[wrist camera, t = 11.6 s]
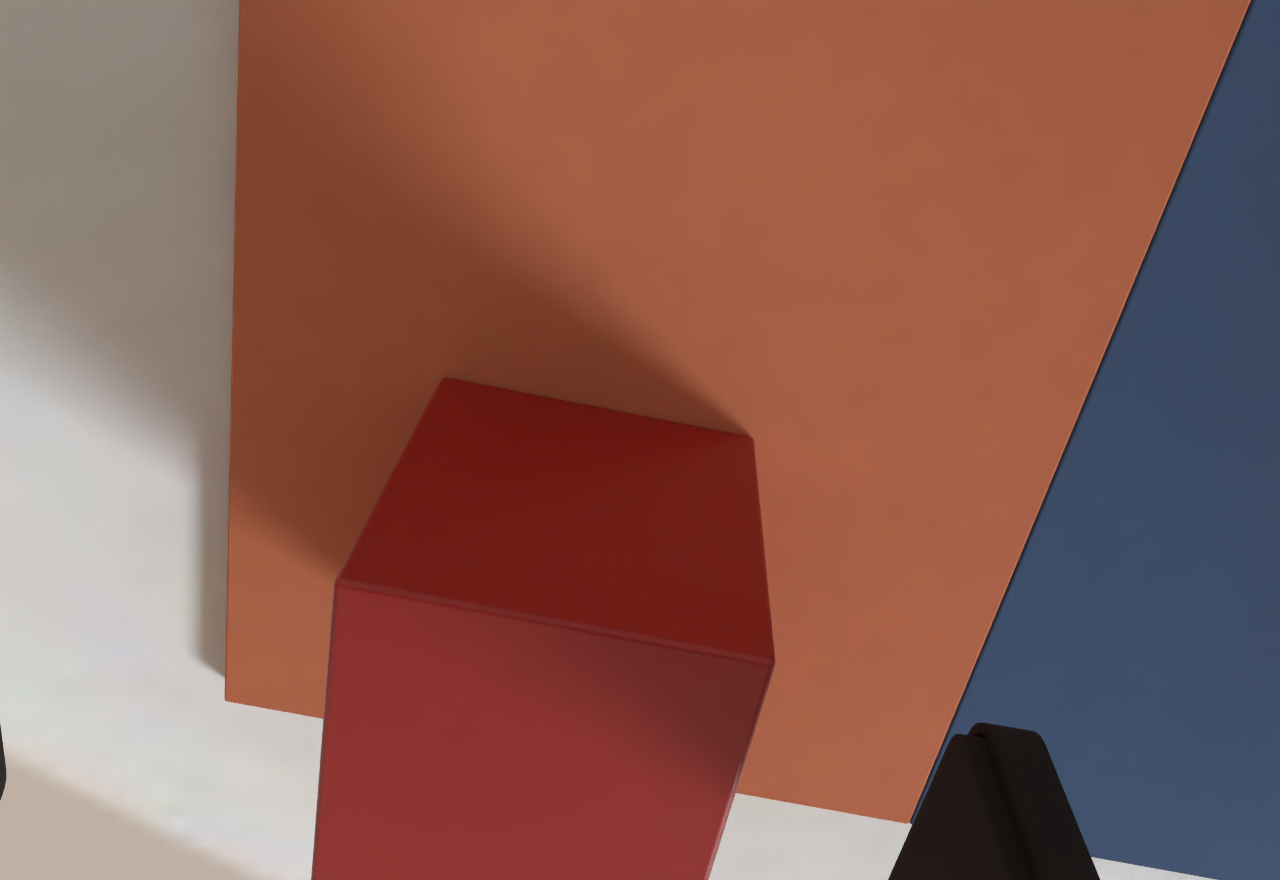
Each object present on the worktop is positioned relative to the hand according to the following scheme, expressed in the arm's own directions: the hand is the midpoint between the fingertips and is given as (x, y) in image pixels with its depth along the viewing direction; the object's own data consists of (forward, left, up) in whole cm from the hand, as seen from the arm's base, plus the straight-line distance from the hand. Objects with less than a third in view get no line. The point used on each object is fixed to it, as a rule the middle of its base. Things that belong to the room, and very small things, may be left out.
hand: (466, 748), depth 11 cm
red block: (+1, -1, -6) cm, 6 cm away
